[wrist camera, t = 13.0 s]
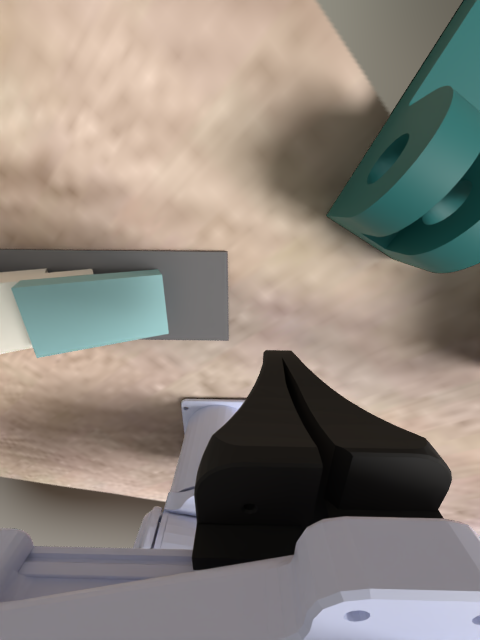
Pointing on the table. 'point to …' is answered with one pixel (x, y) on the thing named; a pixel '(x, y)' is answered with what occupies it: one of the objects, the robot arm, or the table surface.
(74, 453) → the table surface
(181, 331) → the mat
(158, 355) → the table surface
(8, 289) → the tile
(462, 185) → the bracket
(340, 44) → the table surface
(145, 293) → the tile
